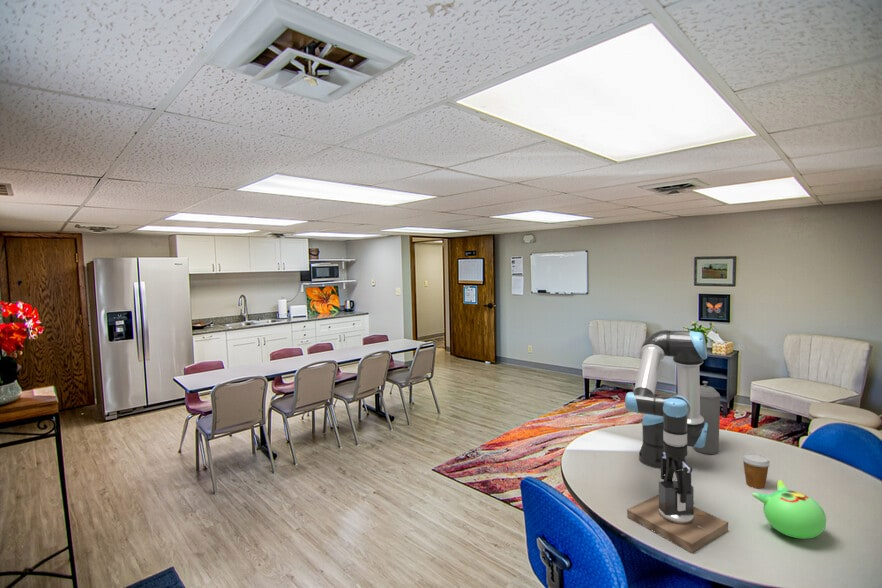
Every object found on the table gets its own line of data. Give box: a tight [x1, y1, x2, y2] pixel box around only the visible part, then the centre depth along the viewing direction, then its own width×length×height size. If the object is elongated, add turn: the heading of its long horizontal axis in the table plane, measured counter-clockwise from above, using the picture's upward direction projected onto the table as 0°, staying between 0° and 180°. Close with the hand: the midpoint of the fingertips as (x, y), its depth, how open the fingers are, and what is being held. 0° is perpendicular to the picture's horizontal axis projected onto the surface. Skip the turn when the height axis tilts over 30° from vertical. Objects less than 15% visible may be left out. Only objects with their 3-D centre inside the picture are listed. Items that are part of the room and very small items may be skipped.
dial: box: [658, 480, 695, 524], centre depth 153 cm, size 11×11×12 cm
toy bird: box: [751, 479, 827, 540], centre depth 146 cm, size 18×17×15 cm
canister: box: [692, 380, 721, 455], centre depth 212 cm, size 13×13×35 cm
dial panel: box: [626, 494, 729, 554], centre depth 153 cm, size 24×22×3 cm
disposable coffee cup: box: [741, 452, 771, 490], centre depth 178 cm, size 10×10×12 cm
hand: (675, 505), depth 153 cm, fingers closed on dial, 5 cm apart
